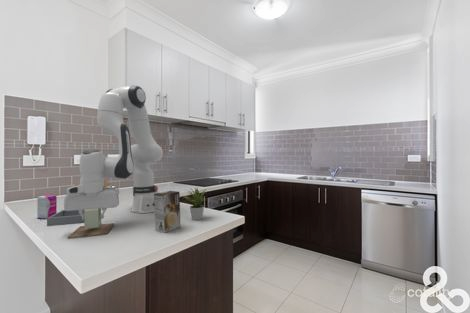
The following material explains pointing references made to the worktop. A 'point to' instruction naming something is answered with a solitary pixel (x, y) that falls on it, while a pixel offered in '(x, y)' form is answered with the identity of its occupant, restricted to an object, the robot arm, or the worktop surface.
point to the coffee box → (167, 211)
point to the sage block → (92, 218)
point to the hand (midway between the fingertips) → (93, 219)
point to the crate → (65, 218)
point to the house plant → (196, 204)
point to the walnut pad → (92, 231)
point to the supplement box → (46, 206)
